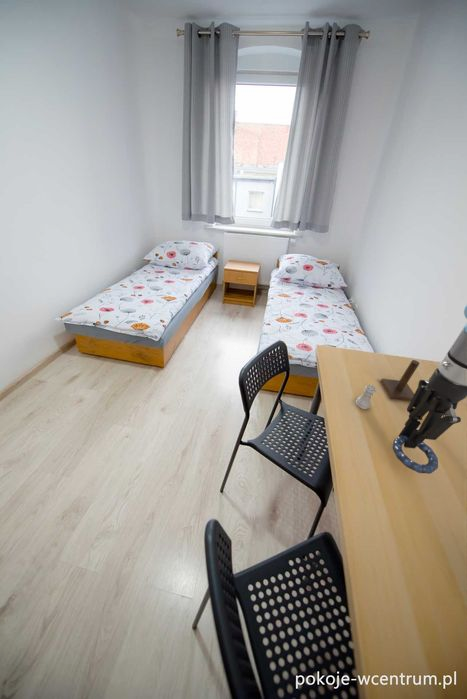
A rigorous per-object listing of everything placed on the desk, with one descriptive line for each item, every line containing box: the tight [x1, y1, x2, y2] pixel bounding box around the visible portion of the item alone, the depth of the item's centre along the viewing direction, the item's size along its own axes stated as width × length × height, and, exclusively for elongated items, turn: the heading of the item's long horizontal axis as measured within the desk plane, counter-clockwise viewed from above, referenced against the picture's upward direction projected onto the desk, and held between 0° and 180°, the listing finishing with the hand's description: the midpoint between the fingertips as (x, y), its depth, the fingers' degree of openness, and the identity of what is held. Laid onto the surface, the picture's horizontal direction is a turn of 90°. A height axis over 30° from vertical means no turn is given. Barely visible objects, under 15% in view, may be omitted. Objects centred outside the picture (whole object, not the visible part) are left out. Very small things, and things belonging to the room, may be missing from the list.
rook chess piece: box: [355, 384, 377, 410], centre depth 90 cm, size 4×4×8 cm
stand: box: [380, 359, 420, 402], centre depth 96 cm, size 9×9×14 cm
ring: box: [392, 435, 439, 475], centre depth 71 cm, size 10×10×2 cm
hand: (406, 441), depth 75 cm, fingers closed on ring, 2 cm apart
